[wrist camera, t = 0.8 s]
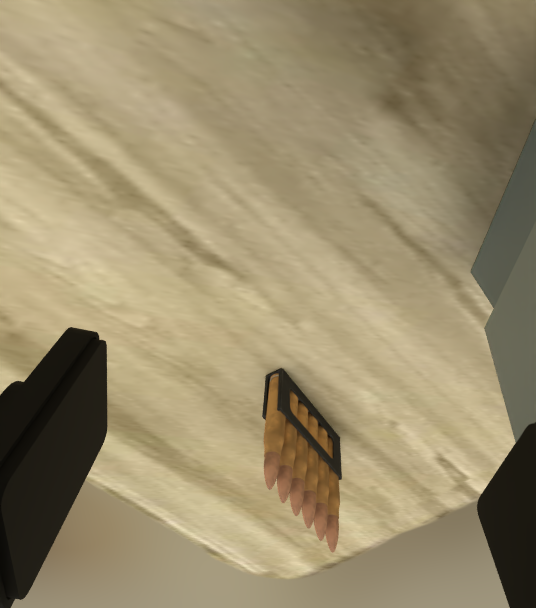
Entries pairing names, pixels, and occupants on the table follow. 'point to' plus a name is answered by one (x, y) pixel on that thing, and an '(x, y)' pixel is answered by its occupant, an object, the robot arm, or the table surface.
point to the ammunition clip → (302, 456)
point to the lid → (517, 339)
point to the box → (509, 225)
